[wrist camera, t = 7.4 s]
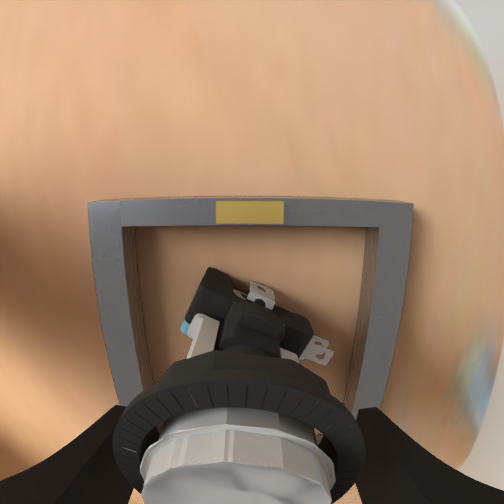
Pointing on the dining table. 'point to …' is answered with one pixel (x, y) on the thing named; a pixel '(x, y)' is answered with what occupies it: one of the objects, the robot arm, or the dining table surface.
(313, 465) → the push button
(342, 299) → the dining table surface
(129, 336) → the frame
